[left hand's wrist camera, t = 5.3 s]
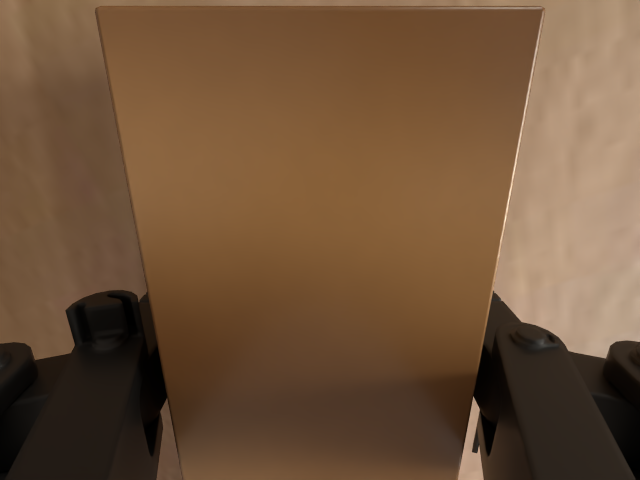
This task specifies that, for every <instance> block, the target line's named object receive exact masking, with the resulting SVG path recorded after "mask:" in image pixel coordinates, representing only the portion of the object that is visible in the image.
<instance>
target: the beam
mask: <svg viewBox="0 0 640 480" xmlns="http://www.w3.org/2000/svg"><path fill="white" fill-rule="evenodd" d="M95 14H96V19H97V25H98V30H99V35H100V41H101V46H102V51H103V57H104V62H105V67H106V73H107V78H108V83H109V89H110V94H111V99H112V105H113V110H114V115H115V121H116V126H117V131H118V137H119V142H120V147H121V153H122V158H123V163H124V169H125V174H126V179H127V185H128V190H129V195H130V201H131V206H132V212H133V217H134V222H135V228H136V233H137V238H138V244H139V249H140V254H141V260H142V265H143V270H144V276H145V281H146V286H147V292H148V297H149V302H150V308H151V313H152V318H153V324H154V329H155V334H156V340H157V345H158V350H159V356H160V361H161V366H162V372H163V377H164V382H165V388H166V393H167V398H168V404H169V409H170V414H171V420H172V425H173V430H174V436H175V441H176V446H177V452H178V457H179V462H180V468H181V473H182V478H183V480H458V475H459V470H460V464H461V459H462V454H463V448H464V443H465V438H466V432H467V427H468V422H469V416H470V411H471V406H472V400H473V395H474V390H475V384H476V379H477V373H478V368H479V363H480V357H481V352H482V347H483V341H484V336H485V331H486V325H487V320H488V315H489V309H490V304H491V299H492V293H493V288H494V283H495V277H496V272H497V267H498V261H499V256H500V251H501V245H502V240H503V235H504V229H505V224H506V218H507V213H508V208H509V202H510V197H511V192H512V186H513V181H514V176H515V170H516V165H517V160H518V154H519V149H520V144H521V138H522V133H523V128H524V122H525V117H526V112H527V106H528V101H529V96H530V90H531V85H532V79H533V74H534V69H535V63H536V58H537V53H538V47H539V42H540V37H541V31H542V26H543V21H544V15H545V8H543V7H541V6H100V7H98V8H96V10H95Z"/></svg>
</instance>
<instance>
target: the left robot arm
mask: <svg viewBox="0 0 640 480" xmlns="http://www.w3.org/2000/svg"><path fill="white" fill-rule="evenodd" d="M66 314H67V318H68V322H69V325H70V329H71V332H72V336H73V339H74V343H75V347H74V349H73V350H72V352H71V353H70V354H65V355H60V356H55V357H50V358H44V359H39V360H35V359H34V356H33V353H32V350H31V347H29V346H28V345H26V344H25V343H16V342H12V343H4V344H0V480H156V478H157V470H158V462H159V455H160V447H161V439H162V432H163V424H162V418H161V413H160V411H161V409H162V407H163V405H164V403H165V401H166V399H167V393H166V388H165V382H164V377H163V372H162V366H161V361H160V356H159V350H158V345H157V340H156V334H155V329H154V324H153V318H152V313H151V308H150V302H149V297H148V292H147V293H146V295H144V296H143V297H142V298H141V299H140V302H138V297H137V295H135V294H134V293H132V292H129V291H124V290H114V291H106V292H100V293H96V294H93V295H90V296H87V297H84V298H82V299H80V300H79V301H77V302H75V303H73V304H72V305H71V306H70V307H69V308H68V309H67V310H66ZM473 396H474V398H475V400H476V402H477V404H478V406H479V408H480V413H479V418H478V423H477V428H476V433H475V438H474V443H473V449H472V452H474V453H477V452H478V447H479V446H480V454H481V461H482V469H483V477H484V480H640V342H635V341H619V342H615V343H614V344H612V345H611V346H610V348H609V351H608V354H607V357H606V359H605V358H600V357H594V356H589V355H584V354H579V353H574V352H570V351H568V350H567V348H566V346H565V344H564V343H563V342H562V341H561V340H560V339H559V337H557V336H556V335H554V334H553V333H551V332H550V331H548V330H546V329H543V328H541V327H538V326H536V325H532V324H527V323H523V322H521V321H520V320H519V319H518V318H517V317H516V315H515V314H514V313H513V312H512V311H511V310H510V309H509V308H508V306H507V305H506V304H505V303H504V302H503V301H501V299H500V297H499V296H498V295H497V294H496V293H494V291H493V293H492V299H491V304H490V309H489V315H488V320H487V325H486V331H485V336H484V341H483V347H482V352H481V357H480V363H479V368H478V373H477V379H476V384H475V390H474V395H473Z"/></svg>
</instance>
